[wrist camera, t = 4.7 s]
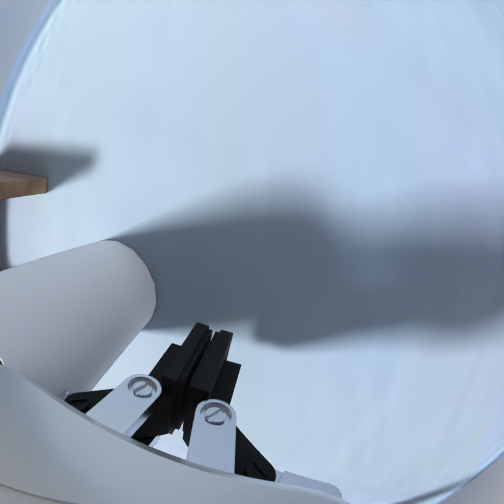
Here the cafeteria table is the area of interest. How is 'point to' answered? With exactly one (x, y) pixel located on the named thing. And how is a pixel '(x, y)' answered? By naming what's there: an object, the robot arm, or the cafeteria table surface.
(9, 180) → the box
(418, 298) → the cafeteria table surface
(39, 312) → the white paper cup
